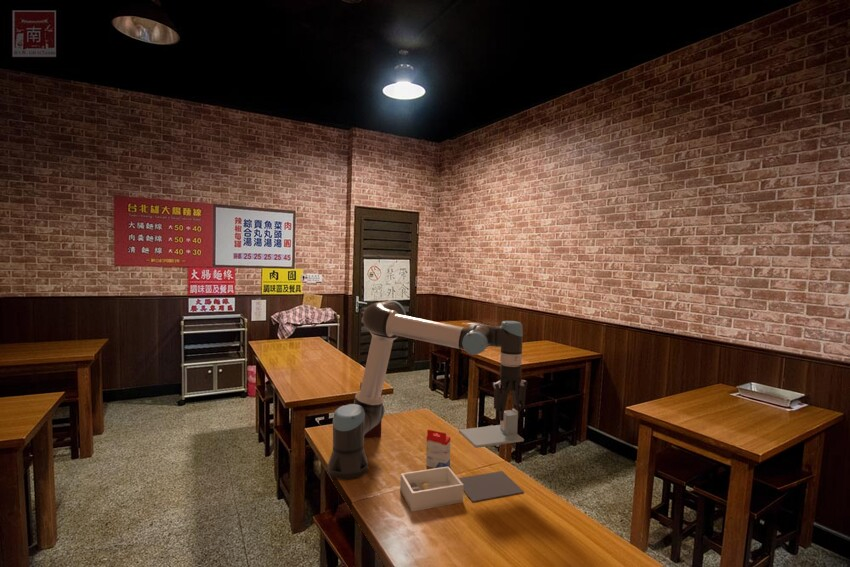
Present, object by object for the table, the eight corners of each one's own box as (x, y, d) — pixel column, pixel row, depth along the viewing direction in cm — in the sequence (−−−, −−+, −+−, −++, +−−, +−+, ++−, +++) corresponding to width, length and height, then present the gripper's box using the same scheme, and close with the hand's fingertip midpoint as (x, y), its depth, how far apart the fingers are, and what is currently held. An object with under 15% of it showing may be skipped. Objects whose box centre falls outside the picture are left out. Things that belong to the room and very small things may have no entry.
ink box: (450, 465, 164) (451, 429, 163) (445, 471, 159) (446, 433, 159) (430, 460, 168) (431, 425, 167) (425, 466, 163) (426, 429, 162)
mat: (472, 502, 139) (472, 501, 139) (454, 479, 153) (454, 478, 153) (524, 492, 146) (524, 491, 146) (502, 472, 160) (502, 470, 160)
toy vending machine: (377, 427, 199) (378, 369, 198) (381, 437, 189) (382, 376, 187) (358, 429, 197) (359, 370, 196) (361, 438, 186) (362, 377, 185)
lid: (475, 452, 139) (476, 424, 139) (458, 435, 152) (459, 410, 152) (523, 445, 145) (524, 419, 145) (503, 429, 158) (504, 406, 158)
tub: (411, 511, 133) (412, 493, 133) (400, 490, 145) (400, 473, 145) (462, 502, 139) (463, 484, 139) (447, 482, 151) (448, 466, 151)
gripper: (494, 368, 143) (492, 435, 145) (537, 365, 149) (534, 429, 150) (484, 363, 150) (482, 426, 152) (525, 360, 156) (523, 421, 157)
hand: (508, 428), depth 151 cm, fingers closed on lid, 4 cm apart
